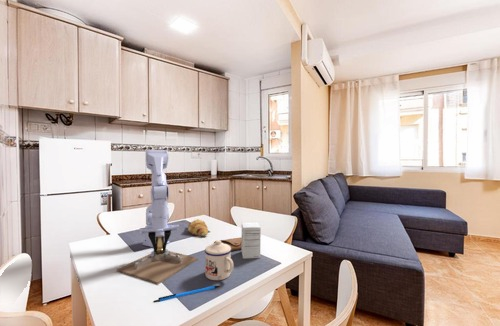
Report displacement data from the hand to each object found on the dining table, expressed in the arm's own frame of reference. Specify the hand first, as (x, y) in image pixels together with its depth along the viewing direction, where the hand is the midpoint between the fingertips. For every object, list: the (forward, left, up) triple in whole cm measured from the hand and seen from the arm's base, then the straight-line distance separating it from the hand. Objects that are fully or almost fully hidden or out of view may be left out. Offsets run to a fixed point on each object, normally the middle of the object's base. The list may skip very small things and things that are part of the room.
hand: (159, 250), depth 91 cm
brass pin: (0, 0, -2) cm, 2 cm away
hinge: (+4, -4, -3) cm, 6 cm away
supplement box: (+31, +19, -4) cm, 37 cm away
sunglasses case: (+22, +23, -4) cm, 32 cm away
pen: (+26, -14, -4) cm, 30 cm away
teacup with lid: (+29, -1, -4) cm, 29 cm away
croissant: (-7, +33, -4) cm, 34 cm away
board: (+4, -4, -3) cm, 7 cm away
